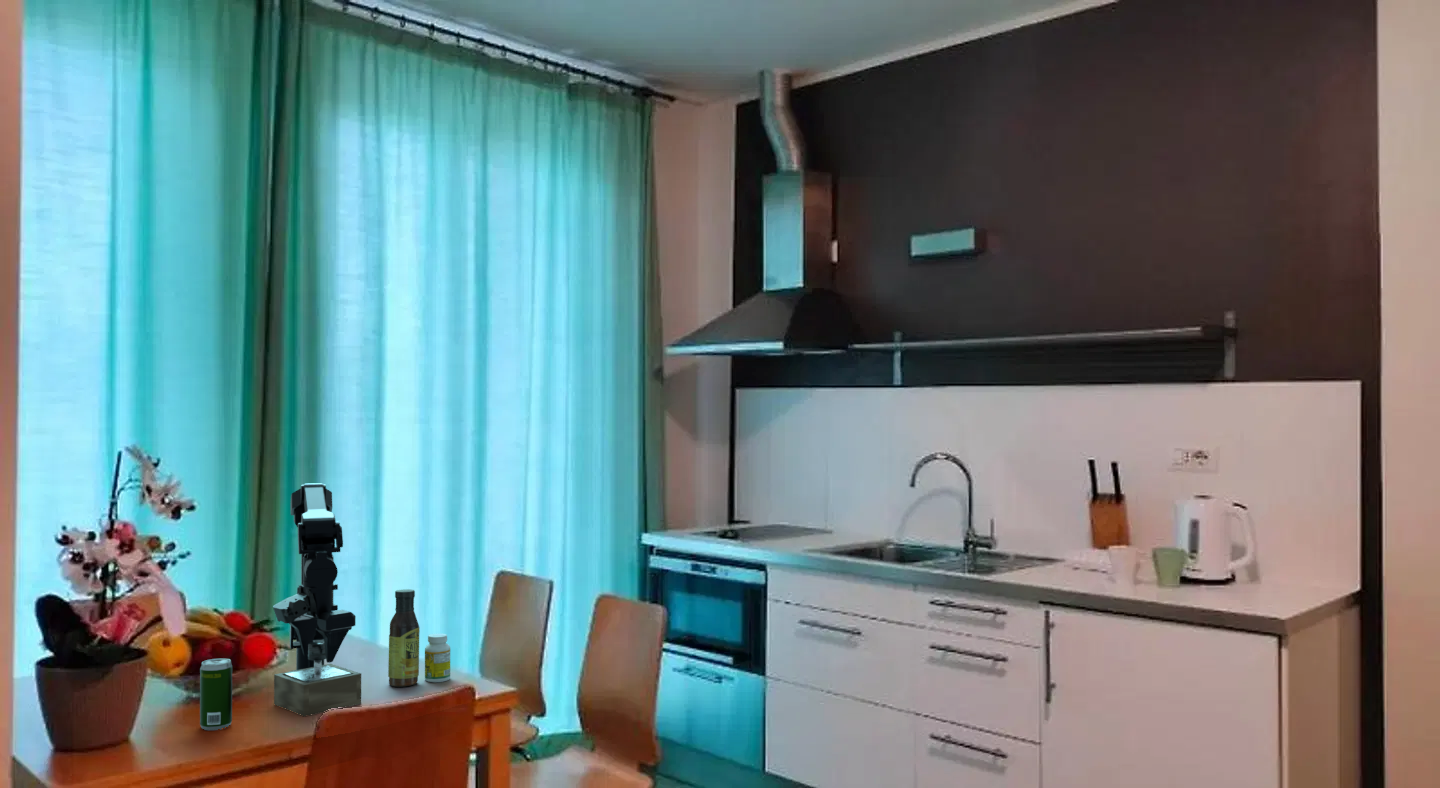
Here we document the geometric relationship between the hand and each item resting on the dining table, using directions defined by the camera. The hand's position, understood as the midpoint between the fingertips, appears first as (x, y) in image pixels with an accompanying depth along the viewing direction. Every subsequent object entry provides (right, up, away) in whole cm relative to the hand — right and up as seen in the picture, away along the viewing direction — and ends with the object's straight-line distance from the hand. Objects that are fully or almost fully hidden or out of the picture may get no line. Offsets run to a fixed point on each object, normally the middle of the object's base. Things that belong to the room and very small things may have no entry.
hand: (317, 658), depth 218 cm
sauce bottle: (+13, -9, +15) cm, 22 cm away
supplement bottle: (+19, -9, +19) cm, 29 cm away
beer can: (-13, -9, -15) cm, 22 cm away
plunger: (0, -4, 0) cm, 4 cm away
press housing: (0, -9, 0) cm, 9 cm away
